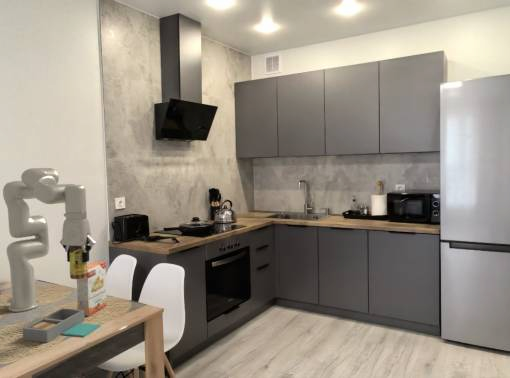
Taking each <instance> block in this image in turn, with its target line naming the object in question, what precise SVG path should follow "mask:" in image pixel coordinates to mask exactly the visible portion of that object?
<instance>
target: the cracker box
mask: <svg viewBox="0 0 510 378" xmlns="http://www.w3.org/2000/svg"><path fill="white" fill-rule="evenodd" d="M106 268H107V265H106V262H104V261H94V262H91V263H90V264H87V276H86V277H84V278H81V279H76V293H77V296H76V297H77V310H84V315H85V317H90V316H91V315H93V314H94V313H96V312H98V311H100V310H101V309H103V308H105V307H106V306H108V305H107V303H108V302H107V278H106V277H107V276H106V275H107V274H106V273H107V272H106Z"/></svg>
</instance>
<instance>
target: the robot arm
mask: <svg viewBox="0 0 510 378" xmlns="http://www.w3.org/2000/svg"><path fill="white" fill-rule="evenodd" d="M20 177H21V178H20V180H14V181H10V182H7V183H5V185H4V186H3V189H2V196H3V200H4V202H5V205H6V207H7V218H8V231H9V235H10V236H11V238H14V239H21V238H28V239H21V240H16V241H13V242H11V243H9V244H8V245H7V246H6V256H7V259H8V265H9V272H10V273H9V274H10V285H11V289H10V291H11V296H10V297H8V298H7V299H6V303H8V304H9V303H10V305H9V306H8V311H10V312H12V313H13V312H14V313H18V312H27V311H29V310H34V309H36V308H38V307H39V306H40V305H41V304H40V303H41V302H40V300H37V299H36V284H35V283H36V282H35V280H36V279H35V269H34V268H35V267H34V266H33V265H32V264H31V263H30V262H29V261H30V260H34V259H39V258H43V257H45V256H47V255H48V253H49V250H50V242H49V241H50V239H49V238H50V237H49V227H48V222H47V219H46V218H45V217H44V216H43V215H31V214H30V207H29V205H28V203H27V202H26V201H25V200H29V199H31V200H32V199H36V200H38V201H39V202H41V203H43V204H47V205H55V204H64V206H65V207H64V209H65V213H63V216H64V217H65V220H64V221H63V225H62V238H61V239H60V241H59V244H60V245H61V246H62V247H63V249H64V252H66V261H67V262H68V263H70V246H81V247H82V249H83V253H82V261H83V263H85V262H87V263H88V262H90V251H91V250H92V249H93V247H94V246H95V245H96V241H95V240H94V239H93V238H92V232H91V227H90V223H89V219H88V217H87V215H88V213H87V198H86V197H87V195H86V194H87V192H86V191H87V190H86V187H85V186H84V185H82V184H74V183H65V184H64V183H63V184H59V181H60V176H59V173H58V172H57V170H56V169H54V168H52V167H32V168H27V169H25V170H24V171H23V172H22V173H21V176H20ZM29 237H34V238H29ZM85 246H86V247H85Z"/></svg>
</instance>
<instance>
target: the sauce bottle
mask: <svg viewBox="0 0 510 378" xmlns="http://www.w3.org/2000/svg"><path fill="white" fill-rule="evenodd" d="M85 247H86V246H85ZM82 253H83V249H82V247H81V246H70V262H69V274H70V275H69V278H70V279H72V280H77V279H81V278H84V277H86V276H87V265H88V262H85V263H83V261H82Z"/></svg>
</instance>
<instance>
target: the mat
mask: <svg viewBox="0 0 510 378" xmlns="http://www.w3.org/2000/svg"><path fill="white" fill-rule="evenodd" d="M100 327H101V324H92V323H84V322H82V323H79V324H77V325H75V326H74V327H72V328H70V329H68V330H67V331H65V332H63V333H62V334H61V336H70V337H80V338H85V337H87V336H89V335H90V334H91V333H93V332H94V331H96V330H98V329H99V328H100Z"/></svg>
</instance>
